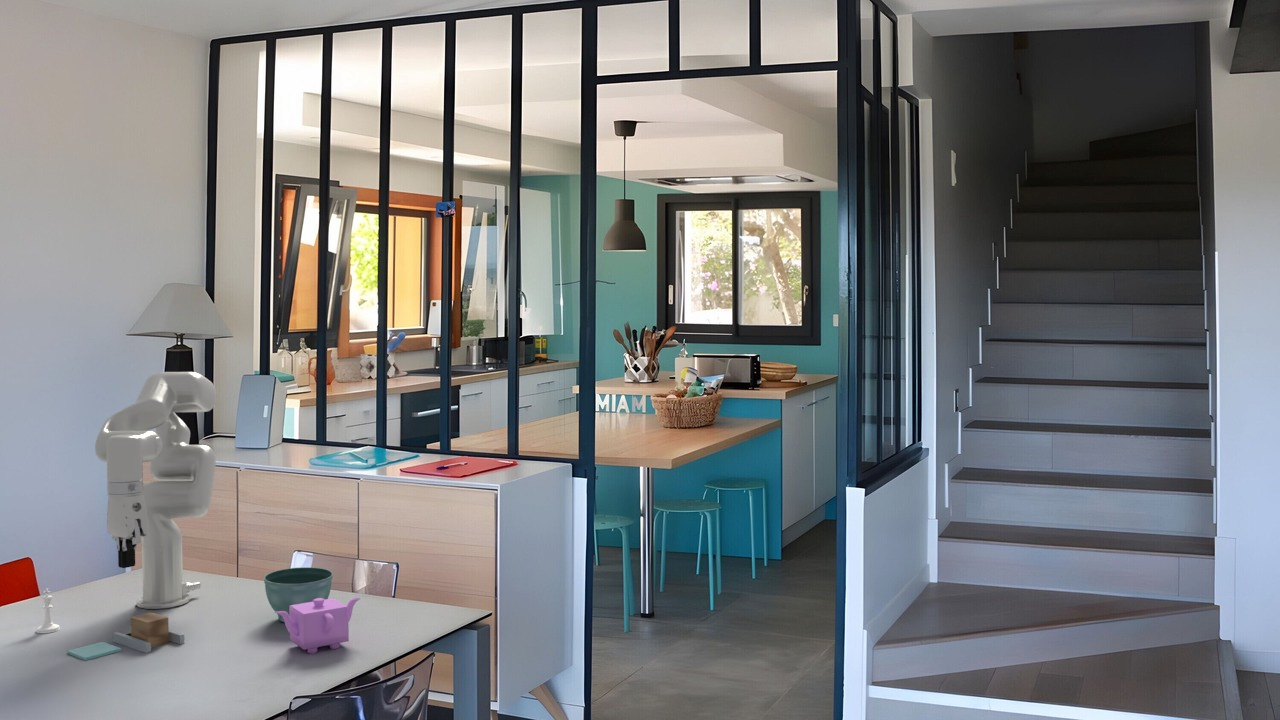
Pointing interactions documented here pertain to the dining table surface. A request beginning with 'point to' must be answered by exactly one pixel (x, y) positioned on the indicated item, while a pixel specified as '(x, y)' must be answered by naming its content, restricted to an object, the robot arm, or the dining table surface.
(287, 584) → the green bowl
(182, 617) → the dining table surface
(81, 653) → the pad
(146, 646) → the grey twin-rail rack
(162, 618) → the walnut block
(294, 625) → the teapot
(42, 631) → the chess piece
